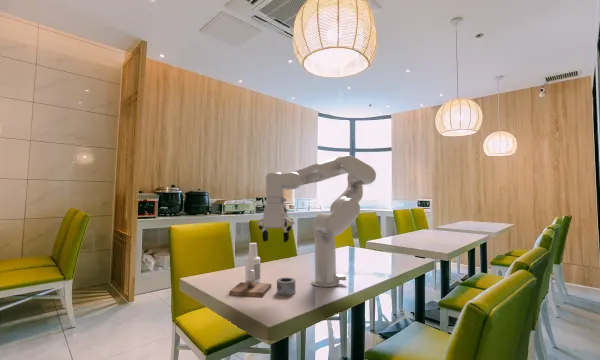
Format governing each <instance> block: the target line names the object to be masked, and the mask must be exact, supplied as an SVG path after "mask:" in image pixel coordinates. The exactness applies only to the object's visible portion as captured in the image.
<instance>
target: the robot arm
mask: <svg viewBox="0 0 600 360" xmlns="http://www.w3.org/2000/svg"><path fill="white" fill-rule="evenodd" d="M344 174H347V177H346V178H347V188H346V189H345V190H344V191H343V192H342V193H341V195H339V196H338V197H337V198H336V199H335V200H334V201H333V202H332V203H331V205H330V207H329V211H330V213H328V212H323V213H318V214H317V215H316V216H315V217H314V219H313V220H312V229H313V231H312V232H313V237H314V278H313V279H312V280H311V284H312V285H313V286H315V287H316V286H317V287H320V288H330V287H331V288H333V287H337V286H339V285H340V281H347V275H343V274H338V272H337V271H336V270H337V260H336V251H337V250H336V249H337V247H336V239H335V237H336V236H339V235H341V234H342V233H344V231H346V229H348V228H349V226H350V225H351V224H352V223H353V222H354V221H356V219H357V218H358V216H359V215H360V212H361V206H360V202H361V200H362V198H363V195H364V190H363V189H364V188H363V186H365V185H370V184H373V183H374V182H375V181H376V178H377V173H376V170H375V168H373V166H371V165H370V164H368V163H365V162H364V161H362V160H361V159H359V158H357V157H355V156H353V155H350V154H344V155H341V156H337V157H334V158H330V159H327V160H325V161H321V162H317V163H314V164H311V165H309V166H307V167H303V168H301V169H297V170H294V171H290V172H283V173H282V172H268V173H267V174H266V176H265V203H266V204H264V208H263V218H261V219H260V220H258V221H257V222H256V224H257V226H258V229H260V230H261V231H260V232H261V233H262V240H263V242H268V241H269V232H268V230H269V229H282V230H283V243H287V242H289V239H290V235H289V233H290V231H291V230H292V229H293V227H294V225H295V221H294V220H291V219H290V218H288V217H289V216H288V209H287V205H286V204H285V202H287V198H285V197H284V190H285V191H289V190H290V191H291V190H297V189H298V188H300V187H301V186H304V185H309V184H313V183H314V184H315V183H319V182H322V181H325V180H329V179H331V178H336V177H337V176H341V175H344Z"/></svg>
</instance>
